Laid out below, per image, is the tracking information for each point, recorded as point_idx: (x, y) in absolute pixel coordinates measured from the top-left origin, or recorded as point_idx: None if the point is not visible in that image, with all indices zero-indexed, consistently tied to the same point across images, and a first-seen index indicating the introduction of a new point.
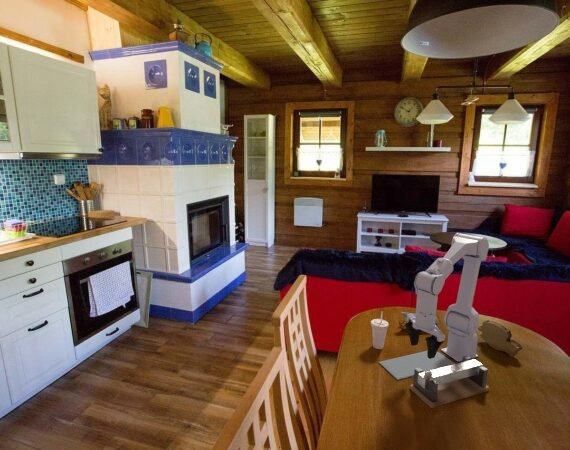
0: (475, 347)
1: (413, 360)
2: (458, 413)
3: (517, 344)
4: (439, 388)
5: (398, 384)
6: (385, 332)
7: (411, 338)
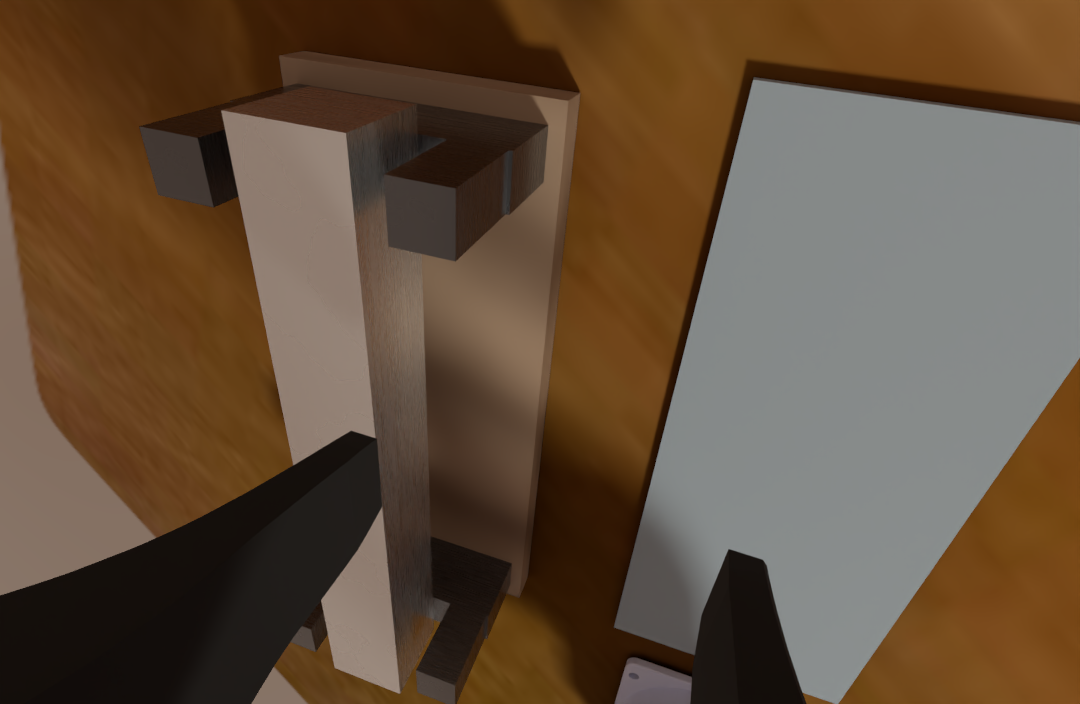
0: None
1: (859, 485)
2: (229, 200)
3: None
4: (425, 302)
5: (694, 24)
6: None
7: (734, 675)
